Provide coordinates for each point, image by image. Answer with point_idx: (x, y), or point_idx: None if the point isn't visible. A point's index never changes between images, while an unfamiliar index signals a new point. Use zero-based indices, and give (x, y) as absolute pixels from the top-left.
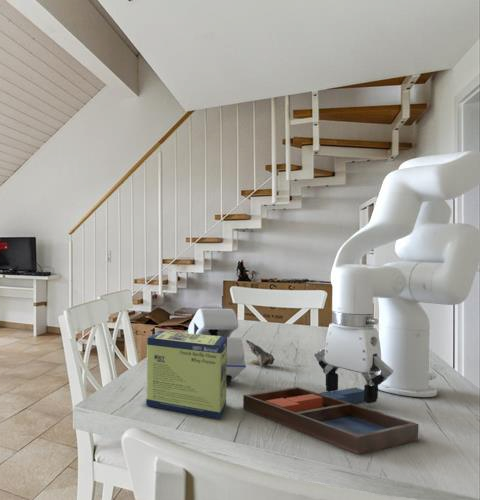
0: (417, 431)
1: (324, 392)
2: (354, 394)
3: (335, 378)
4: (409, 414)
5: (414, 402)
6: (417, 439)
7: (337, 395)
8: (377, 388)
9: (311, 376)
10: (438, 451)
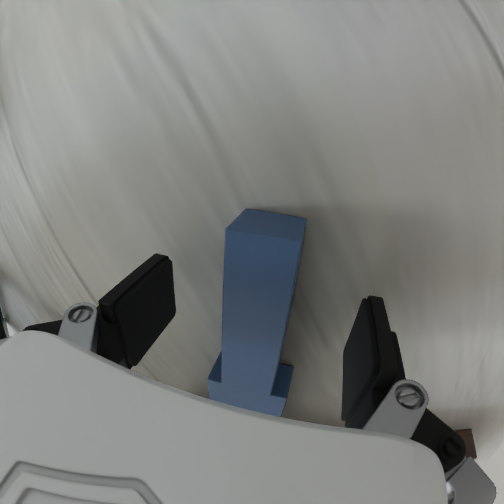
0: (472, 445)
1: (212, 399)
2: (284, 334)
3: (136, 316)
4: (488, 266)
5: (440, 21)
6: (470, 432)
7: (259, 404)
8: (402, 378)
9: (24, 86)
10: (487, 434)
